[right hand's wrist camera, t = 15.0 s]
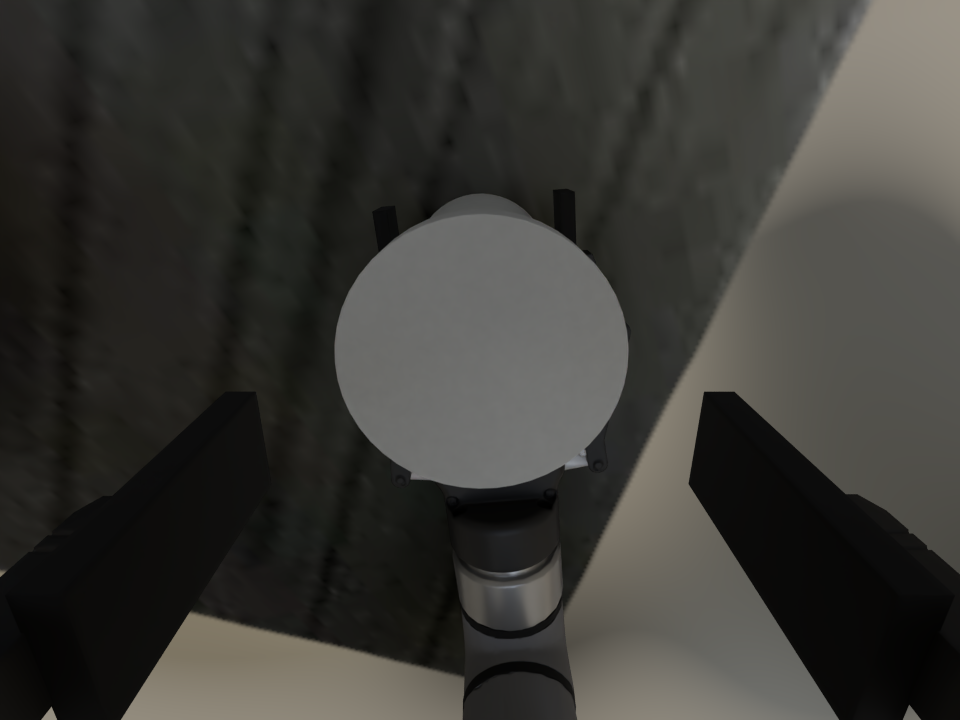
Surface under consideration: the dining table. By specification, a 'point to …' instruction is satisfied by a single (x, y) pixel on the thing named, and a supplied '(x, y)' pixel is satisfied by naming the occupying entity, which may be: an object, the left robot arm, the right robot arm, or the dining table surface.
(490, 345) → the lid
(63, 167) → the dining table surface
